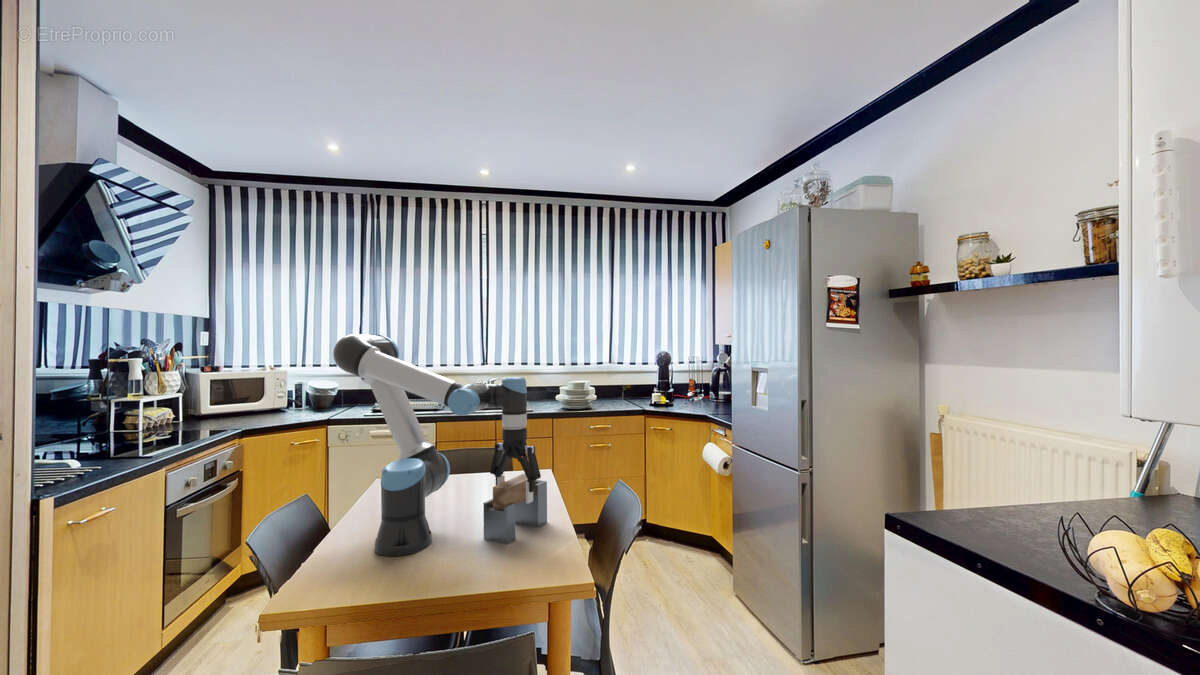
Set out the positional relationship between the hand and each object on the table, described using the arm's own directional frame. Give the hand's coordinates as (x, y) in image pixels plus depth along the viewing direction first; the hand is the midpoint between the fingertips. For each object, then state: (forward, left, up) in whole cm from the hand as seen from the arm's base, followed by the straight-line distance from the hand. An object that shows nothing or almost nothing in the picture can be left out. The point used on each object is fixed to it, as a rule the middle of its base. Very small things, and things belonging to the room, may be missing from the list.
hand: (515, 499), depth 149 cm
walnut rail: (0, 0, 0) cm, 0 cm away
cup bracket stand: (0, 0, -9) cm, 9 cm away
